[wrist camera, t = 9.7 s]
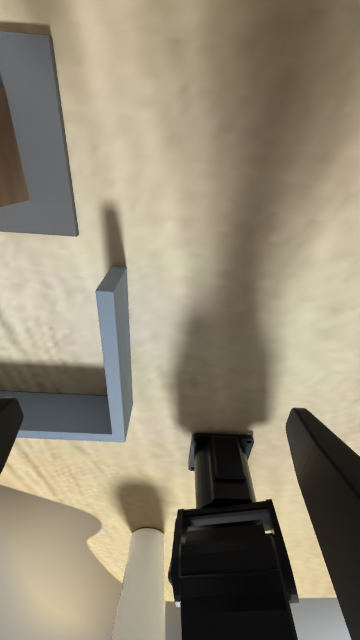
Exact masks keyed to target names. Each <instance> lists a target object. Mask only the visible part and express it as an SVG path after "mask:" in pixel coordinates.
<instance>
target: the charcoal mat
mask: <svg viewBox="0 0 360 640" xmlns="http://www.w3.org/2000/svg"><path fill="white" fill-rule="evenodd" d="M0 87H1V88H3V89H5V90H6V95H7V99H8V104H9V108H10V113H11V118H12V122H13V127H14V131H15V136H16V140H17V145H18V150H19V154H20V159H21V163H22V168H23V172H24V177H25V182H26V186H27V191H28V195H29V200H27V201H23V202H19V203H15V204H11V205H7V206H3V207H0V231H1V232H16V233H31V234H46V235H61V236H76V237H77V236H78V235H79V232H78V225H77V218H76V210H75V203H74V196H73V188H72V181H71V174H70V167H69V159H68V152H67V145H66V137H65V130H64V123H63V115H62V108H61V101H60V94H59V86H58V79H57V72H56V64H55V57H54V50H53V43H52V38H51V37H50V36H48V35H40V34H28V33H17V32H5V31H0Z"/></svg>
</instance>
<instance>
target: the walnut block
mask: <svg viewBox="0 0 360 640" xmlns="http://www.w3.org/2000/svg"><path fill="white" fill-rule="evenodd" d="M27 200H29V195H28V191H27V186H26V182H25V177H24V172H23V168H22V163H21V159H20V154H19V150H18V145H17V140H16V136H15V131H14V127H13V122H12V118H11V113H10V108H9V104H8V99H7V95H6V90H5V89H3V88H1V87H0V207H3V206H7V205H11V204H15V203H19V202H23V201H27Z"/></svg>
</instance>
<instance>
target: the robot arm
mask: <svg viewBox="0 0 360 640" xmlns="http://www.w3.org/2000/svg"><path fill="white" fill-rule="evenodd" d="M23 418H24V414H23V411H22V409H21V406H20V404H19V401H18V399H17V398H15V397H2V398H0V474H1V472H2V470H3V468H4V466H5V463H6V461H7V459H8V456H9V454H10V451H11V449H12V447H13V444H14V442H15V439H16V437H17V434H18V432H19V430H20V427H21V425H22V422H23ZM286 434H287V438H288V442H289V446H290V451H291V455H292V459H293V464H294V468H295V472H296V476H297V480H298V483H299V486H300V489H301V492H302V495H303V498H304V501H305V504H306V507H307V510H308V513H309V516H310V519H311V522H312V525H313V528H314V531H315V534H316V536H317V539H318V542H319V545H320V548H321V551H322V554H323V557H324V560H325V563H326V566H327V569H328V572H329V575H330V578H331V581H332V584H333V587H334V590H335V592H336V595H337V598H338V601H339V604H340V607H341V610H342V613H343V616H344V619H345V622H346V625H347V628H348V630H349V633H350V637H351V639H352V640H360V456H359V455H357V454H356V453H355V452H354V451H353V450H352V449H351V448H350V447H349V446H347V445H346V444H345V443H344V442H343V441H342V440H341V439H340V438H338V437H337V436H336V435H335V434H334V433H333V432H332V431H331V430H330V429H328V428H327V427H326V426H325V425H324V424H323V423H322V422H321V421H319V420H318V419H317V418H316V417H315V416H314V415H313V414H312V413H310V412H309V411H308V410H307V409H305V408H292V409H291V411H290V414H289V417H288V420H287V422H286ZM253 444H254V439H253V437H252V436H245V435H223V434H201V433H196V434H194V435H193V437H192V444H191V451H190V458H189V465H188V467H189V470H190V471H195V490H196V509H187V510H184V509H178V513H177V519H176V521H175V531H174V540H173V549H172V558H171V563H170V567H169V572H168V579H169V582H170V583H171V585H172V586H173V593H174V599H175V604H176V606H177V609H179V610H181V626H182V640H298V638H297V634H296V630H295V626H294V621H293V617H292V613H291V608H290V603H299V599H298V594H297V589H296V585H295V581H294V577H293V573H292V569H291V565H290V561H289V557H288V554H287V550H286V547H285V543H284V540H283V536H282V533H281V529H280V526H279V523H278V519H277V516H276V512H275V509H274V506H273V502H272V499H268V500H266V501H261V502H256V498H255V493H254V489H253V484H252V480H251V475H250V471H249V466H248V462H247V461H248V458H249V455H250V452H251V449H252V447H253ZM269 530H271V533H268V534H265V531H269Z"/></svg>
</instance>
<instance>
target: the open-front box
mask: <svg viewBox="0 0 360 640" xmlns="http://www.w3.org/2000/svg"><path fill="white" fill-rule="evenodd" d="M96 299H97V308H98V316H99V325H100V334H101V342H102V351H103V359H104V368H105V376H106V385H107V393H108V396H94V395H74V394H53V393H33V392H13V391H0V398H2V397H15V398H17V399H18V401H19V404H20V406H21V409H22V411H23V414H24V418H23V422H22V425H21V427H20V430H19V432H18V434H17V437H16V438H37V439H60V440H82V441H105V442H125V440H126V435H127V431H128V426H129V421H130V416H131V411H132V406H133V398H132V377H131V355H130V333H129V312H128V290H127V268H126V267H113V266H112V267H111V269H110V270H109V272H108V273H107V275H106V276H105V278H104V279H103V281H102V282H101V284H100V285H99V286H98V288H97V289H96Z"/></svg>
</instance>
